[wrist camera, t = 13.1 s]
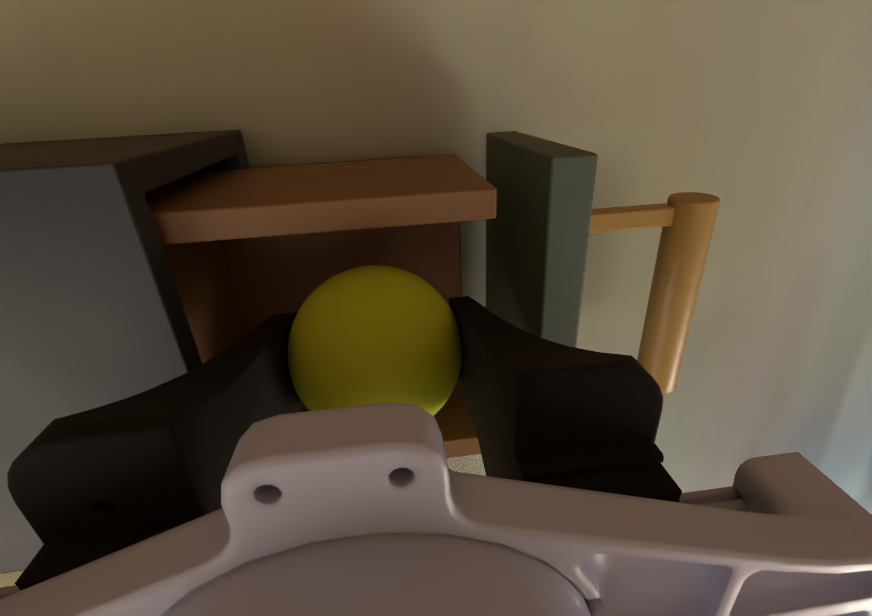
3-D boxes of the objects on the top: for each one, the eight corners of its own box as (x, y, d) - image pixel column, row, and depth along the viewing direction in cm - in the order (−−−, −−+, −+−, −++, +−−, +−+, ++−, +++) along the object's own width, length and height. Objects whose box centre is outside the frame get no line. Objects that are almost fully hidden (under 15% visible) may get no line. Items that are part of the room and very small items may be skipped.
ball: (451, 365, 16) (478, 466, 12) (316, 379, 16) (291, 490, 11) (446, 236, 14) (477, 302, 10) (289, 249, 14) (245, 324, 9)
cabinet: (240, 129, 17) (112, 162, 9) (297, 376, 22) (250, 540, 14) (-147, 152, 16) (-708, 214, 8) (9, 406, 21) (-225, 605, 13)
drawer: (628, 123, 18) (775, 140, 11) (598, 343, 22) (689, 446, 16) (187, 151, 16) (59, 190, 10) (253, 380, 21) (196, 511, 14)
